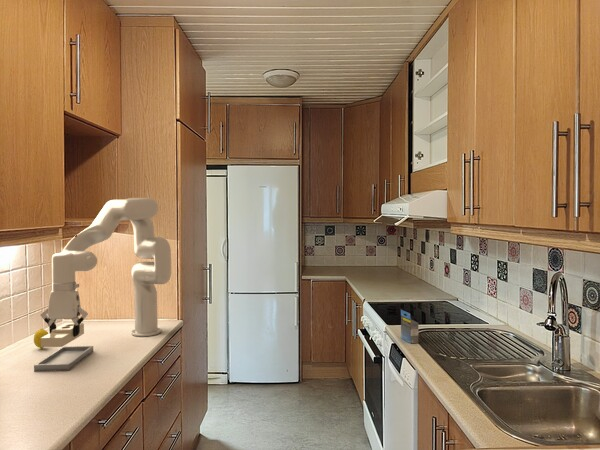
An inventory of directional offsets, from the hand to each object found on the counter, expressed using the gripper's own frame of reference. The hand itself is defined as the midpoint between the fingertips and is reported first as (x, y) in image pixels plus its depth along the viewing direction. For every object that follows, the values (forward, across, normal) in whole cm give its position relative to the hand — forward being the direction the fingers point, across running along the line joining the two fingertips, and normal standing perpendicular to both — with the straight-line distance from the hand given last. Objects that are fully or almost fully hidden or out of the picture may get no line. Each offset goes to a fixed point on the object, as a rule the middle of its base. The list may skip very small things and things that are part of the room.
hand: (64, 335), depth 180 cm
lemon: (+9, +16, -17) cm, 25 cm away
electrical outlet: (+2, 0, +1) cm, 2 cm away
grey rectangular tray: (+9, 0, 0) cm, 9 cm away
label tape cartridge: (+9, -131, -19) cm, 133 cm away
